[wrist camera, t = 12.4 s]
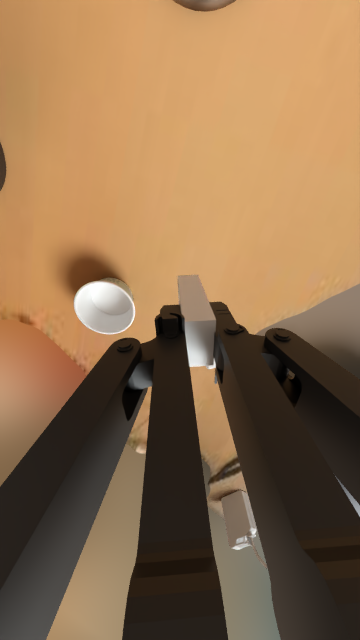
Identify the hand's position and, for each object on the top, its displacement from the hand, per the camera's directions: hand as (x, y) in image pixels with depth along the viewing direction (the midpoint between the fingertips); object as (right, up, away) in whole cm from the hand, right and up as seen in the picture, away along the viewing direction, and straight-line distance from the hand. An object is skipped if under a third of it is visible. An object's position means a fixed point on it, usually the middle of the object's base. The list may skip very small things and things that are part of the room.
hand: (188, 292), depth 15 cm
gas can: (+27, -89, +86) cm, 127 cm away
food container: (-16, +3, +31) cm, 35 cm away
